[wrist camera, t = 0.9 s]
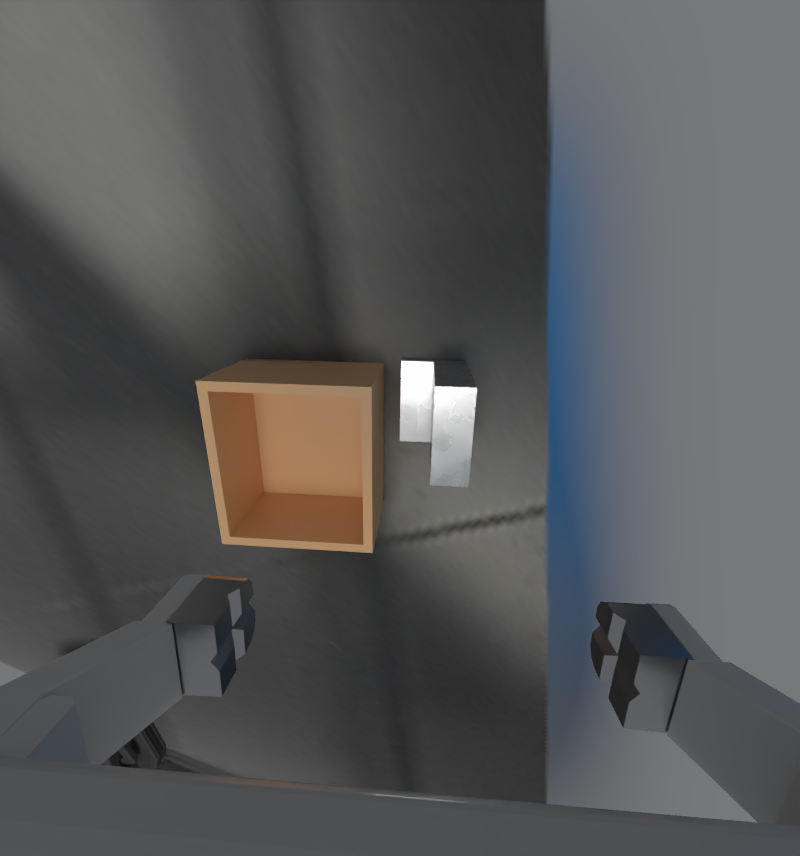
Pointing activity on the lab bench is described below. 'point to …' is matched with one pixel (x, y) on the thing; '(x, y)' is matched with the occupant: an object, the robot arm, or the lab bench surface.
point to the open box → (296, 452)
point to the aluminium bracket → (440, 415)
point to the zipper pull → (140, 751)
